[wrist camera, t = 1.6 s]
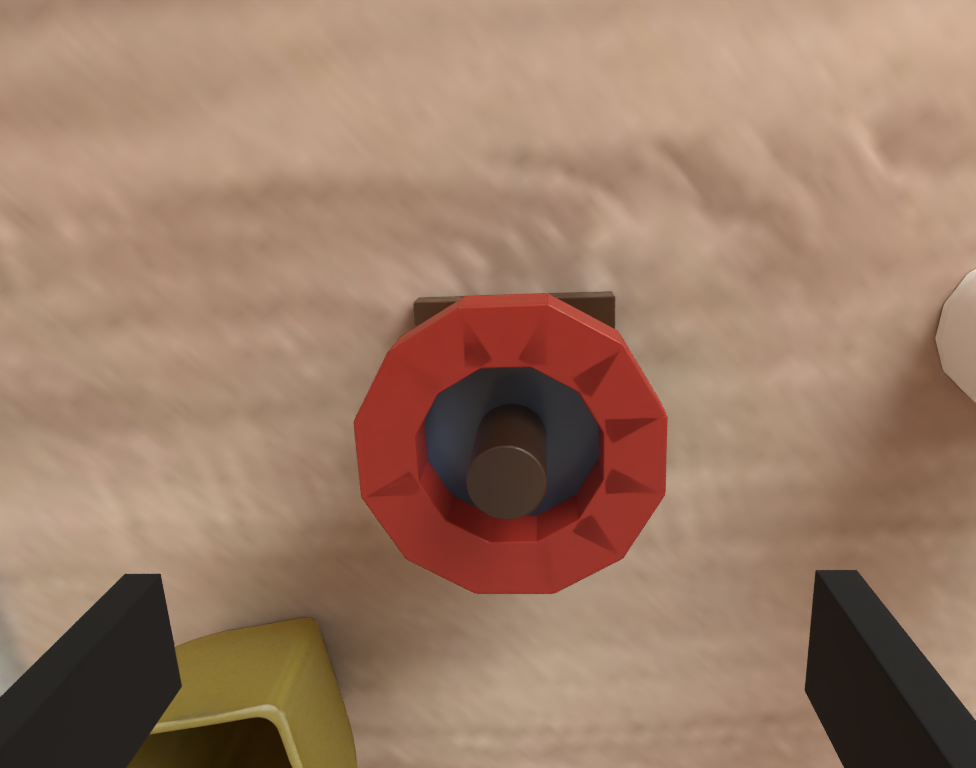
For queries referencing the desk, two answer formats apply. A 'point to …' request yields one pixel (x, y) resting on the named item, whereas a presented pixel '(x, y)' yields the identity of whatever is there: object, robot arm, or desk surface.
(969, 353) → the foam cup
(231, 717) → the flower pot
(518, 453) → the stacking post
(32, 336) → the desk surface
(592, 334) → the ring
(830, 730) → the robot arm
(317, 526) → the desk surface
